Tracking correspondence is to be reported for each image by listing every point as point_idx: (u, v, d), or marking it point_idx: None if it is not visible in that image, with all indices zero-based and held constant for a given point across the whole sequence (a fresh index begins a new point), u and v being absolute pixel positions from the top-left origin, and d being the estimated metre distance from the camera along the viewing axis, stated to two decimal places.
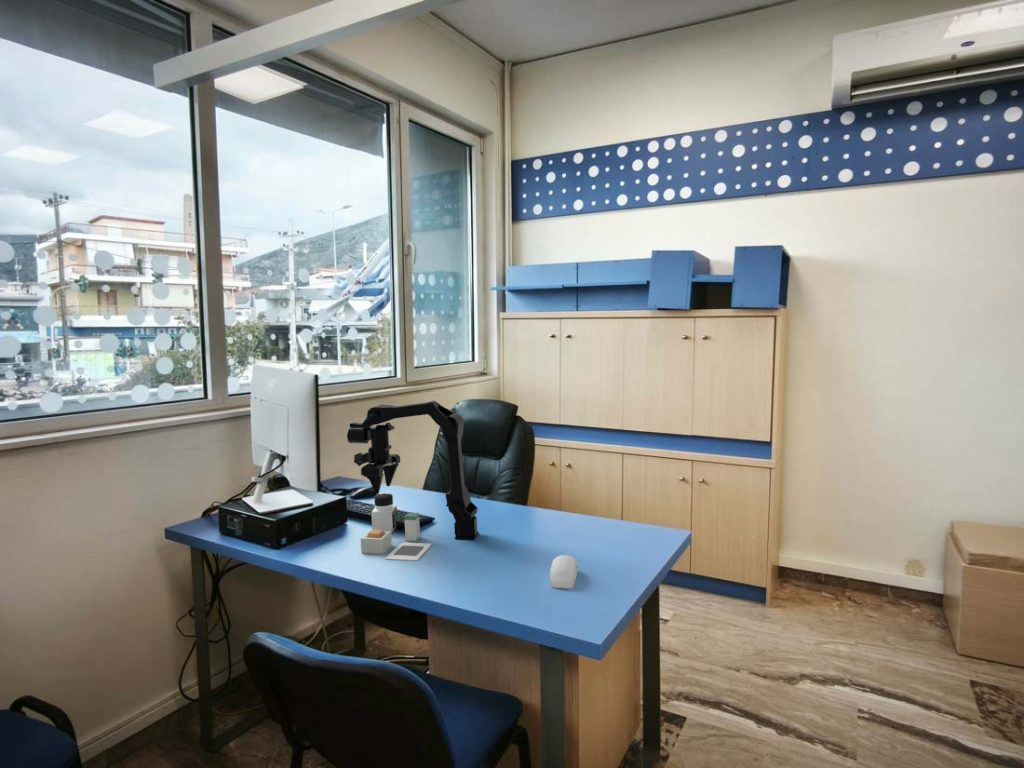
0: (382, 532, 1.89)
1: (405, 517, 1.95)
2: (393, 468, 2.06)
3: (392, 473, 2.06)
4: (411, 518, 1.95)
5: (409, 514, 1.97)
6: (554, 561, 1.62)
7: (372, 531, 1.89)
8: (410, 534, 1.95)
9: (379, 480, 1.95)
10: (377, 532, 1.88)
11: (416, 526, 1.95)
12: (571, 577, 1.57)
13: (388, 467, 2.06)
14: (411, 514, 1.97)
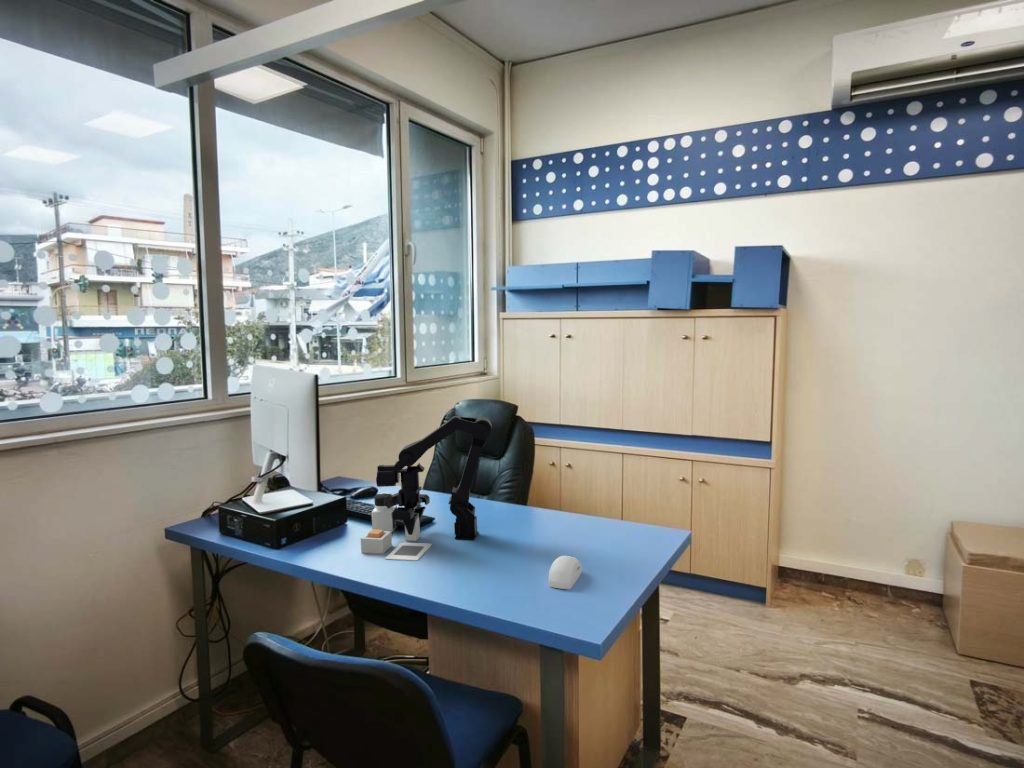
0: (382, 532, 1.89)
1: None
2: (420, 512, 1.98)
3: (419, 517, 1.98)
4: None
5: None
6: (555, 561, 1.62)
7: (372, 531, 1.89)
8: None
9: (413, 521, 1.92)
10: (377, 532, 1.88)
11: (416, 526, 1.95)
12: (569, 578, 1.57)
13: (414, 511, 1.99)
14: None
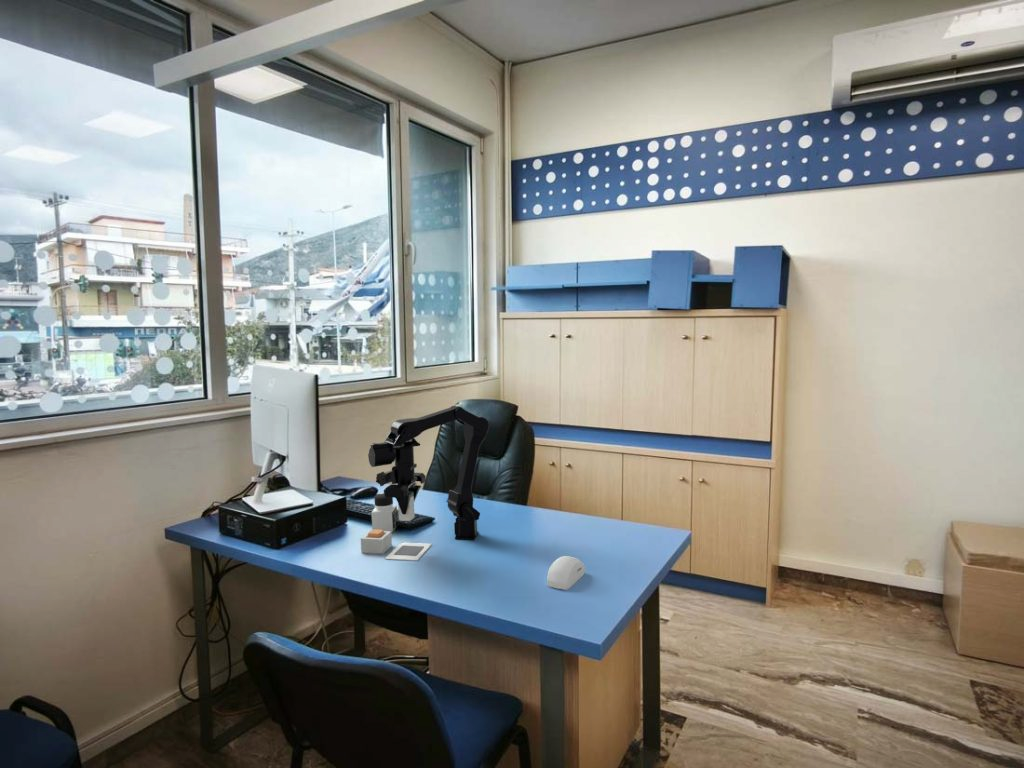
0: (382, 532, 1.89)
1: None
2: (415, 491, 1.87)
3: (414, 496, 1.87)
4: None
5: None
6: (555, 561, 1.62)
7: (372, 531, 1.89)
8: None
9: (407, 500, 1.81)
10: (377, 532, 1.88)
11: (409, 505, 1.83)
12: (566, 578, 1.57)
13: (409, 490, 1.87)
14: None
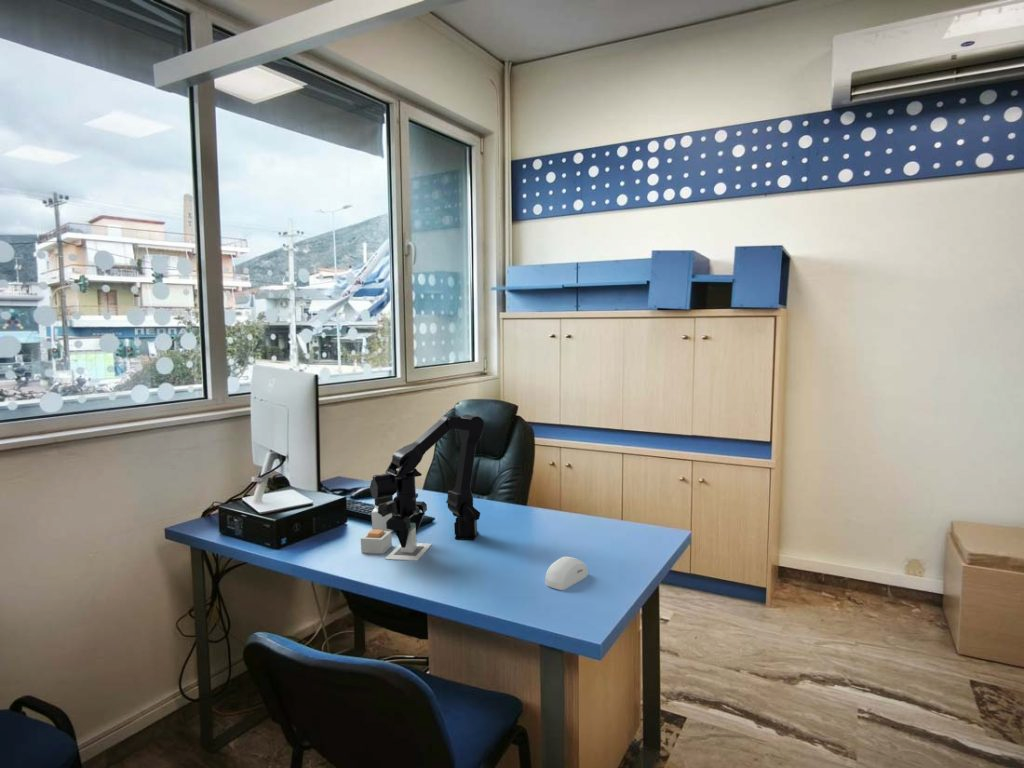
0: (382, 532, 1.89)
1: None
2: (419, 518, 1.89)
3: (418, 523, 1.89)
4: None
5: None
6: None
7: (372, 531, 1.89)
8: (406, 545, 1.84)
9: (406, 533, 1.79)
10: (377, 532, 1.88)
11: (412, 536, 1.84)
12: (562, 579, 1.56)
13: (413, 517, 1.89)
14: None
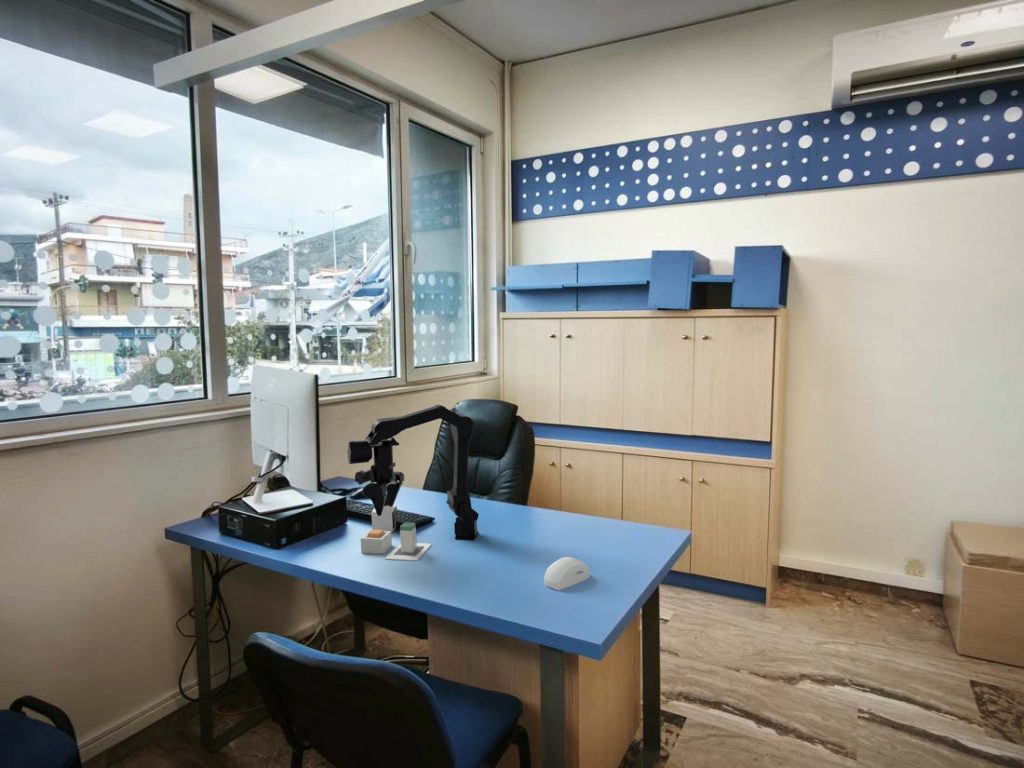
0: (382, 532, 1.89)
1: (401, 527, 1.84)
2: (396, 487, 1.90)
3: (395, 492, 1.90)
4: (407, 529, 1.83)
5: (405, 524, 1.85)
6: None
7: (372, 531, 1.89)
8: (406, 545, 1.84)
9: (382, 501, 1.79)
10: (377, 532, 1.88)
11: (412, 536, 1.84)
12: (559, 579, 1.56)
13: (391, 486, 1.91)
14: (407, 524, 1.85)
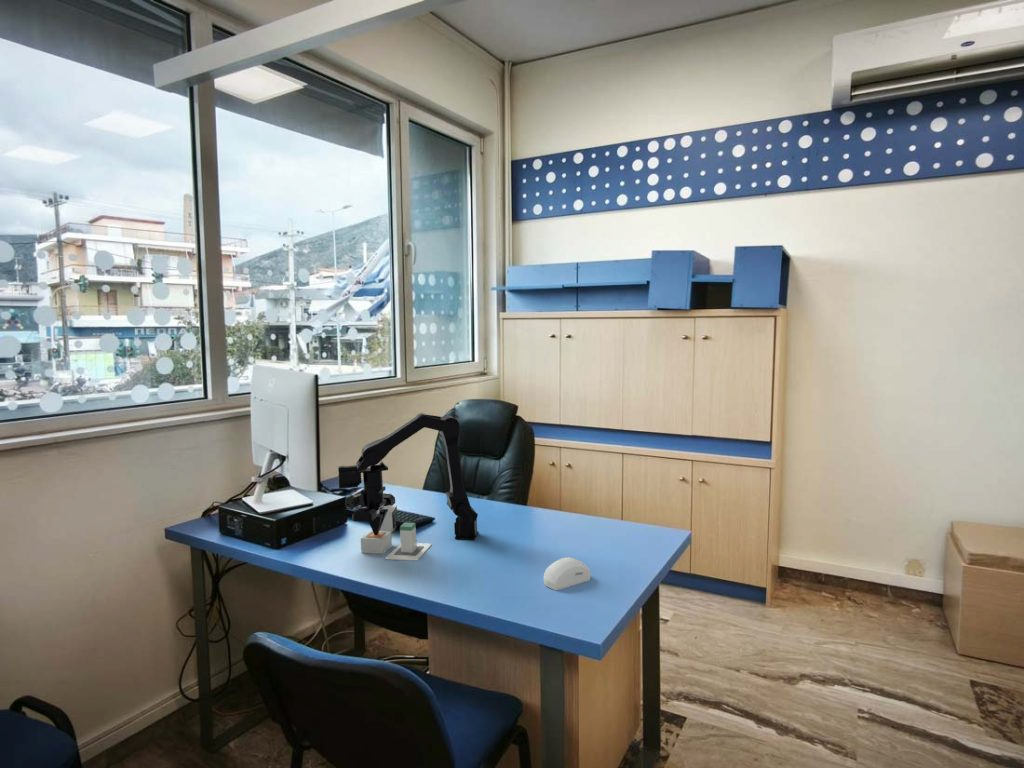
0: (382, 535, 1.89)
1: (401, 527, 1.84)
2: None
3: (381, 520, 1.88)
4: (407, 529, 1.83)
5: (405, 524, 1.85)
6: None
7: (372, 534, 1.89)
8: (406, 545, 1.84)
9: (378, 521, 1.86)
10: (377, 535, 1.88)
11: (412, 536, 1.84)
12: (556, 579, 1.56)
13: None
14: (407, 524, 1.85)
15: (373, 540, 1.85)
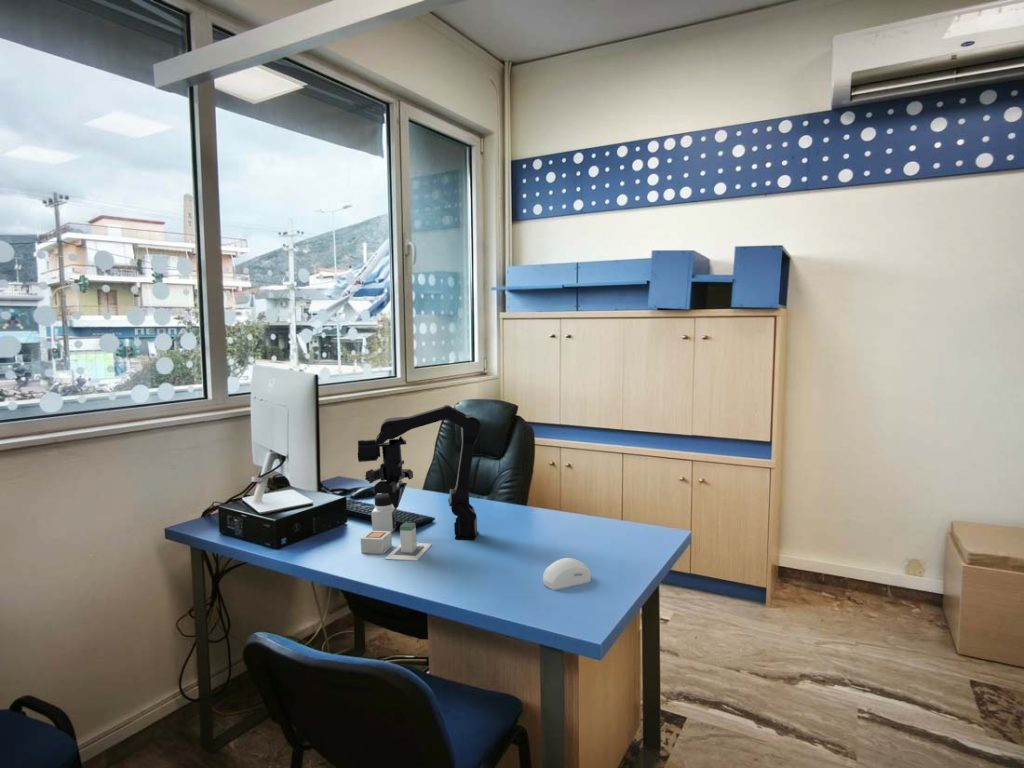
0: (382, 535, 1.89)
1: (401, 527, 1.84)
2: None
3: (400, 493, 1.92)
4: (407, 529, 1.83)
5: (405, 524, 1.85)
6: None
7: (372, 534, 1.89)
8: (406, 545, 1.84)
9: (398, 494, 1.90)
10: (377, 535, 1.88)
11: (412, 536, 1.84)
12: (554, 579, 1.57)
13: None
14: (407, 524, 1.85)
15: (373, 540, 1.85)
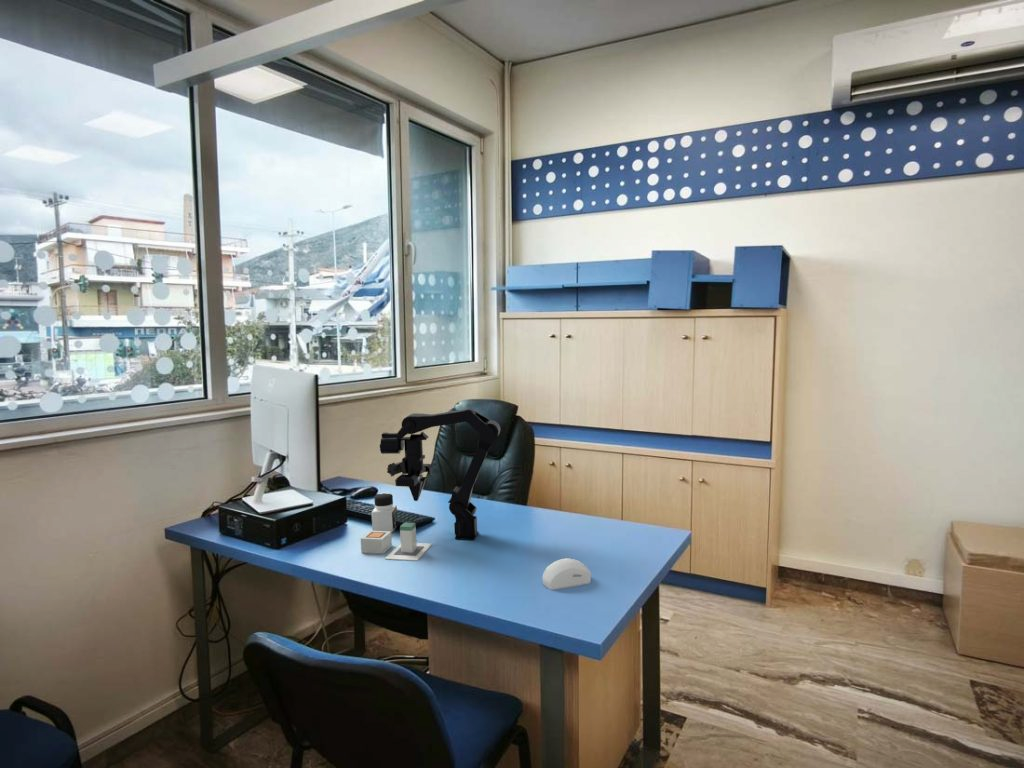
0: (382, 535, 1.89)
1: (401, 527, 1.84)
2: None
3: (420, 487, 1.97)
4: (407, 529, 1.83)
5: (405, 524, 1.85)
6: None
7: (372, 534, 1.89)
8: (406, 545, 1.84)
9: (419, 487, 1.95)
10: (377, 535, 1.88)
11: (412, 536, 1.84)
12: (551, 578, 1.57)
13: None
14: (407, 524, 1.85)
15: (373, 540, 1.85)
